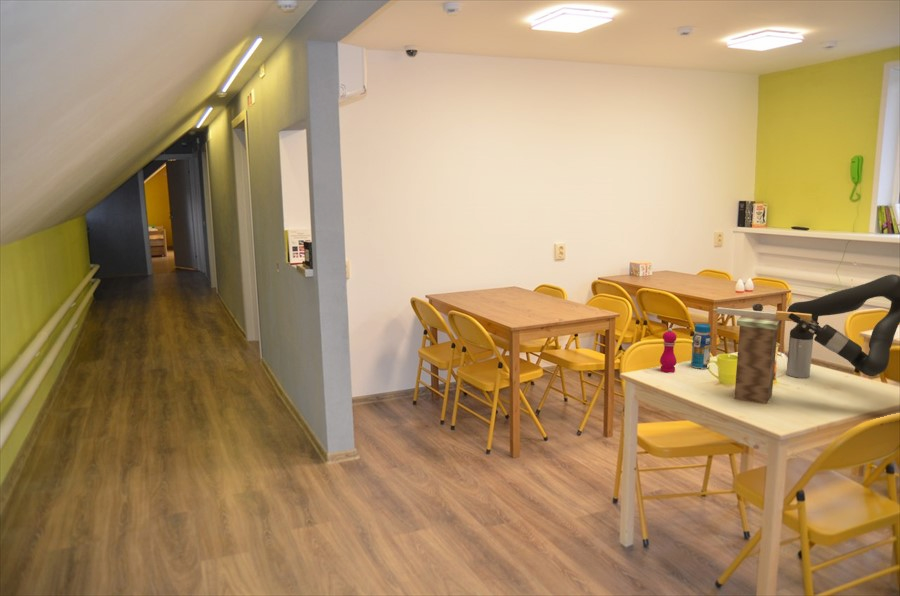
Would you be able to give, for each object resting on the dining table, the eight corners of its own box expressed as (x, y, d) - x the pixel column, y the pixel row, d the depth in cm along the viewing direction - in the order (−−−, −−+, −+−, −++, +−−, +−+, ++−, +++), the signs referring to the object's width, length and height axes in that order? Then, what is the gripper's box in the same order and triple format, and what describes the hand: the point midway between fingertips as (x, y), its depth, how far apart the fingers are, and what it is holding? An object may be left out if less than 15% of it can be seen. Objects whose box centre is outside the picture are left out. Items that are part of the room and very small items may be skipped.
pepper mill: (661, 373, 297) (664, 329, 293) (657, 368, 304) (659, 326, 300) (678, 373, 297) (680, 329, 293) (673, 368, 304) (675, 326, 300)
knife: (811, 321, 253) (811, 314, 253) (810, 323, 251) (811, 315, 250) (713, 312, 273) (714, 304, 272) (712, 313, 270) (712, 306, 270)
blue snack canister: (688, 364, 310) (690, 323, 307) (706, 364, 310) (708, 323, 306) (693, 369, 302) (696, 327, 298) (712, 369, 302) (715, 327, 298)
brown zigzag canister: (775, 394, 267) (781, 317, 261) (769, 405, 255) (776, 324, 249) (738, 388, 275) (743, 313, 269) (731, 398, 262) (737, 320, 256)
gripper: (839, 327, 254) (798, 302, 260) (836, 335, 242) (794, 308, 248) (826, 342, 257) (786, 317, 263) (823, 350, 245) (782, 324, 251)
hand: (790, 313), depth 256 cm, fingers open, 6 cm apart
